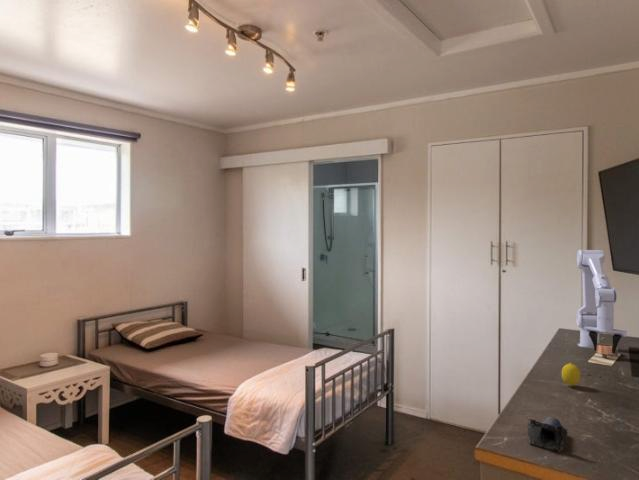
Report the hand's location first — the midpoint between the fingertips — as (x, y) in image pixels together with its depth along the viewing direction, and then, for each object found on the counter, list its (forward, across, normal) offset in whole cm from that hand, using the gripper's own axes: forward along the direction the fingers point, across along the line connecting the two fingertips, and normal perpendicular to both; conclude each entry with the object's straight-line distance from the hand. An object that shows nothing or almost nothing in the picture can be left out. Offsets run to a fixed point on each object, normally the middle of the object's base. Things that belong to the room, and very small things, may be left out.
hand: (604, 351), depth 184 cm
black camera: (+4, +2, -88) cm, 88 cm away
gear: (0, 0, 0) cm, 0 cm away
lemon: (+4, -3, -41) cm, 41 cm away
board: (+4, 0, 0) cm, 4 cm away
